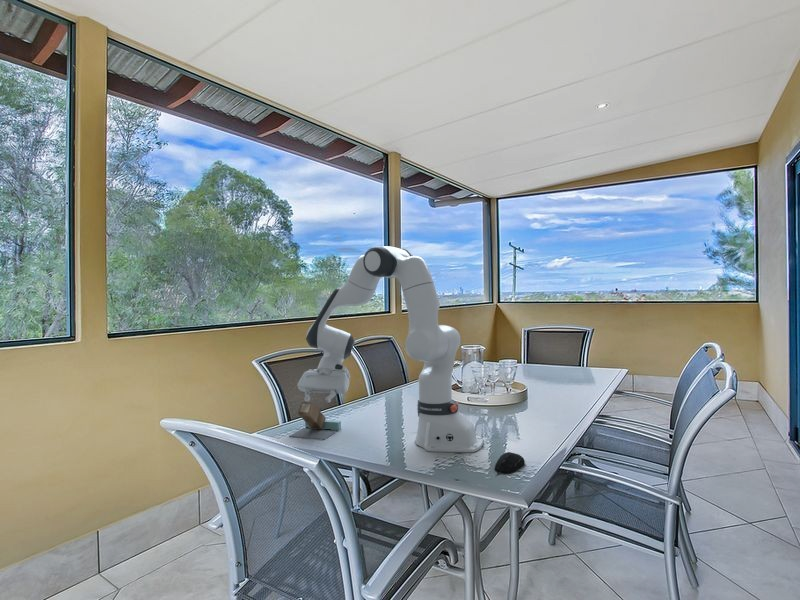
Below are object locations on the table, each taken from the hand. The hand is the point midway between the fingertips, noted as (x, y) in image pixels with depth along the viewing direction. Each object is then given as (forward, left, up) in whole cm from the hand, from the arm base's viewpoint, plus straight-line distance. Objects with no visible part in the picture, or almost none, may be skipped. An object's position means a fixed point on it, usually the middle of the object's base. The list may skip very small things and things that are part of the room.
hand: (316, 401), depth 168 cm
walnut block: (0, -1, -8) cm, 9 cm away
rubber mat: (-1, +5, -11) cm, 12 cm away
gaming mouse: (-71, +17, -11) cm, 74 cm away
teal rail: (-1, -2, -11) cm, 11 cm away
